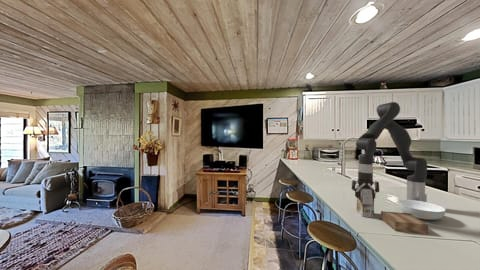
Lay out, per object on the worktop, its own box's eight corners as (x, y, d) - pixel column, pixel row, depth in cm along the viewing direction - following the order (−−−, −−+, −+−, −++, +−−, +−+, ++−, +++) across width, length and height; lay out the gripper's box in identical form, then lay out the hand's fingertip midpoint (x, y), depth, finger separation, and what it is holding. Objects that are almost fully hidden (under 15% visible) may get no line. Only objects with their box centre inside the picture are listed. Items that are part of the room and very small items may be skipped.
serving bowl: (431, 212, 124) (432, 201, 124) (455, 227, 104) (455, 214, 104) (392, 208, 131) (392, 197, 131) (406, 221, 111) (407, 208, 111)
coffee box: (374, 217, 115) (374, 189, 115) (362, 216, 116) (362, 189, 116) (367, 211, 123) (367, 185, 124) (356, 210, 125) (356, 185, 125)
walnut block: (409, 222, 110) (409, 213, 110) (427, 234, 96) (428, 224, 96) (380, 219, 112) (381, 211, 112) (395, 231, 99) (395, 221, 99)
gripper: (375, 170, 122) (375, 197, 122) (350, 169, 125) (349, 195, 125) (381, 173, 115) (381, 201, 115) (354, 171, 117) (354, 199, 117)
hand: (365, 198), depth 120 cm, fingers open, 8 cm apart
